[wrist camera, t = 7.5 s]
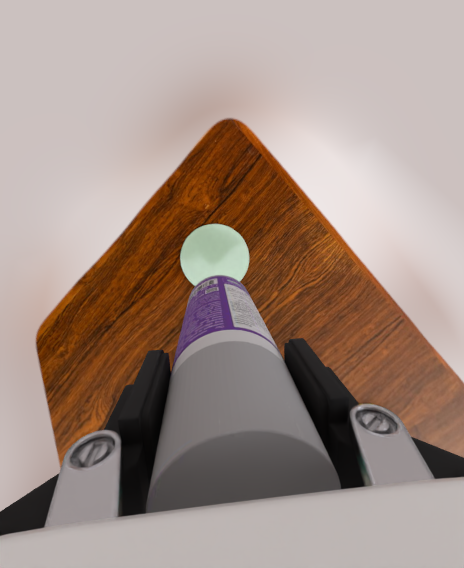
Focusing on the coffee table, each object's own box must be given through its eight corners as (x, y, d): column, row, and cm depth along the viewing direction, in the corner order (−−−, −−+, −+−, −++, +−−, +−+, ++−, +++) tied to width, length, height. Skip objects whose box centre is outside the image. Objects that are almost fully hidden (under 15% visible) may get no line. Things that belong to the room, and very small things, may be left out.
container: (190, 336, 21) (151, 601, 7) (185, 276, 20) (124, 436, 5) (251, 331, 21) (342, 574, 7) (249, 272, 20) (354, 413, 6)
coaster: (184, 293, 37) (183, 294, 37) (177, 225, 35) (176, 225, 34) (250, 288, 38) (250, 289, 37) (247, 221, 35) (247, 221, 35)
